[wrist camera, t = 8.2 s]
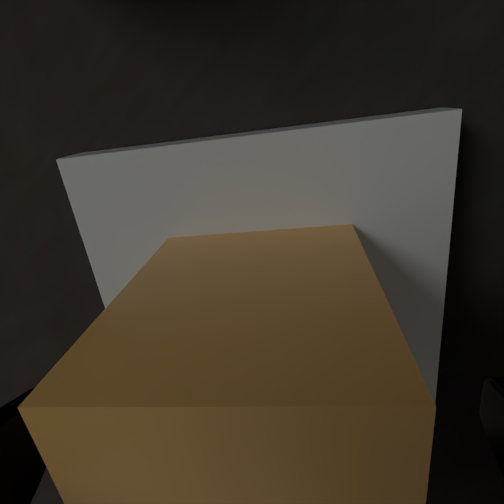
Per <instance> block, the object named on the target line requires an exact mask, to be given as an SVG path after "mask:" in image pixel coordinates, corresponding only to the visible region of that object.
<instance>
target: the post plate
mask: <svg viewBox="0 0 504 504" xmlns="http://www.w3.org/2000/svg"><path fill="white" fill-rule="evenodd" d="M461 116H462V109H456V108H434V109H426V110H418V111H410V112H402V113H394V114H386V115H378V116H370V117H362V118H354V119H346V120H338V121H330V122H322V123H315V124H307V125H299V126H291V127H283V128H275V129H267V130H259V131H251V132H243V133H235V134H227V135H219V136H211V137H203V138H195V139H187V140H179V141H172V142H164V143H156V144H148V145H140V146H132V147H124V148H116V149H108V150H100V151H92V152H84V153H79V154H75V155H71V156H67V157H63V158H60V159H56V161H57V164H58V167H59V170H60V173H61V176H62V179H63V182H64V185H65V188H66V191H67V194H68V197H69V200H70V203H71V206H72V209H73V212H74V215H75V218H76V221H77V224H78V227H79V231H80V234H81V237H82V240H83V243H84V246H85V249H86V252H87V255H88V258H89V261H90V264H91V267H92V270H93V273H94V276H95V279H96V282H97V285H98V288H99V291H100V294H101V297H102V300H103V303H104V306H105V309H106V307H107V306H108V305H109V304H110V303H111V302H112V301H113V300H114V298H115V297H116V296H117V295H118V294H119V293H120V292H121V291H122V289H123V288H124V287H125V286H126V285H127V284H128V283H129V282H130V280H131V279H132V278H133V277H134V276H135V275H136V274H137V273H138V271H139V270H140V269H141V268H142V267H143V266H144V265H145V264H146V262H147V261H148V260H149V259H150V258H151V257H152V256H153V255H154V253H155V252H156V251H157V250H158V249H159V248H160V247H161V246H162V244H163V243H164V242H165V241H166V240H167V239H168V238H171V237H184V236H198V235H211V234H225V233H238V232H252V231H265V230H279V229H292V228H305V227H319V226H332V225H346V224H352V225H353V227H354V229H355V231H356V233H357V235H358V238H359V240H360V242H361V244H362V246H363V248H364V251H365V253H366V255H367V257H368V259H369V261H370V264H371V266H372V268H373V270H374V272H375V274H376V277H377V279H378V281H379V283H380V285H381V287H382V290H383V292H384V294H385V296H386V298H387V301H388V303H389V305H390V307H391V309H392V311H393V314H394V316H395V318H396V320H397V322H398V324H399V327H400V329H401V331H402V333H403V335H404V337H405V340H406V342H407V344H408V346H409V348H410V350H411V353H412V355H413V357H414V359H415V361H416V363H417V366H418V368H419V370H420V372H421V374H422V376H423V379H424V381H425V383H426V385H427V387H428V389H429V392H430V394H431V396H432V398H433V400H434V402H435V399H436V388H437V378H438V367H439V356H440V345H441V334H442V323H443V312H444V301H445V290H446V280H447V269H448V258H449V247H450V236H451V225H452V214H453V203H454V192H455V182H456V171H457V160H458V149H459V138H460V127H461Z"/></svg>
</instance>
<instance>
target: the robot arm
mask: <svg viewBox="0 0 504 504" xmlns="http://www.w3.org/2000/svg"><path fill="white" fill-rule="evenodd" d="M33 390H34V388H32V389H30V390H28V391H27V392H25V393H23V394H22V395H20V396H19V397H17V398H15V399H14V400H12V401H10V402H9V403H7V404H5V405H4V406H2V407H0V504H30V503H31V501H32V499H33V497H34V495H35V492H36V490H37V488H38V486H39V483H40V481H41V479H42V476H43V474H44V472H45V469H46V465H45V463H44V461H43V459H42V457H41V455H40V453H39V451H38V449H37V447H36V445H35V443H34V441H33V438H32V436H31V434H30V432H29V430H28V428H27V426H26V424H25V422H24V420H23V418H22V416H21V414H20V412H19V410H18V406H19V405H20V404H21V403H22V402H23V401H24V400H25V399H26V397H27V396H28V395H29V394H30V393H31V392H32V391H33ZM480 418H481V422H482V425H483V427H484V430H485V432H486V435H487V437H488V440H489V442H490V445H491V447H492V450H493V452H494V455H495V457H496V460H497V462H498V465H499V467H500V470H501V472H502V475H503V477H504V377H494V378H487V379H486V380H485V382H484V385H483V391H482V398H481V404H480Z"/></svg>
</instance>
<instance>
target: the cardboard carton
mask: <svg viewBox="0 0 504 504" xmlns="http://www.w3.org/2000/svg"><path fill="white" fill-rule="evenodd" d="M18 410H19V412H20V414H21V416H22V418H23V420H24V422H25V424H26V426H27V428H28V430H29V432H30V434H31V436H32V438H33V441H34V443H35V445H36V447H37V449H38V451H39V453H40V455H41V457H42V459H43V461H44V463H45V465H46V467H47V469H48V471H49V473H50V475H51V477H52V479H53V481H54V483H55V485H56V487H57V489H58V492H59V494H60V496H61V498H62V500H63V502H64V504H426V496H427V487H428V478H429V469H430V459H431V450H432V441H433V432H434V423H435V413H436V405H435V402H434V400H433V398H432V396H431V394H430V392H429V389H428V387H427V385H426V383H425V381H424V379H423V376H422V374H421V372H420V370H419V368H418V366H417V363H416V361H415V359H414V357H413V355H412V353H411V350H410V348H409V346H408V344H407V342H406V340H405V337H404V335H403V333H402V331H401V329H400V327H399V324H398V322H397V320H396V318H395V316H394V314H393V311H392V309H391V307H390V305H389V303H388V301H387V298H386V296H385V294H384V292H383V290H382V287H381V285H380V283H379V281H378V279H377V277H376V274H375V272H374V270H373V268H372V266H371V264H370V261H369V259H368V257H367V255H366V253H365V251H364V248H363V246H362V244H361V242H360V240H359V238H358V235H357V233H356V231H355V229H354V227H353V225H352V224H346V225H332V226H319V227H305V228H292V229H279V230H265V231H252V232H238V233H225V234H211V235H198V236H184V237H171V238H168V239H167V240H166V241H165V242H164V243H163V244H162V246H161V247H160V248H159V249H158V250H157V251H156V252H155V253H154V255H153V256H152V257H151V258H150V259H149V260H148V261H147V262H146V264H145V265H144V266H143V267H142V268H141V269H140V270H139V271H138V273H137V274H136V275H135V276H134V277H133V278H132V279H131V280H130V282H129V283H128V284H127V285H126V286H125V287H124V288H123V289H122V291H121V292H120V293H119V294H118V295H117V296H116V297H115V298H114V300H113V301H112V302H111V303H110V304H109V305H108V306H107V307H106V309H105V310H104V311H103V312H102V313H101V314H100V315H99V316H98V318H97V319H96V320H95V321H94V322H93V323H92V324H91V325H90V327H89V328H88V329H87V330H86V331H85V332H84V333H83V334H82V336H81V337H80V338H79V339H78V340H77V341H76V342H75V343H74V345H73V346H72V347H71V348H70V349H69V350H68V351H67V352H66V354H65V355H64V356H63V357H62V358H61V359H60V360H59V361H58V363H57V364H56V365H55V366H54V367H53V368H52V369H51V370H50V372H49V373H48V374H47V375H46V376H45V377H44V378H43V379H42V381H41V382H40V383H39V384H38V385H37V386H36V387H35V388H34V390H33V391H32V392H31V393H30V394H29V395H28V396H27V397H26V399H25V400H24V401H23V402H22V403H21V404H20V405H19V406H18Z"/></svg>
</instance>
